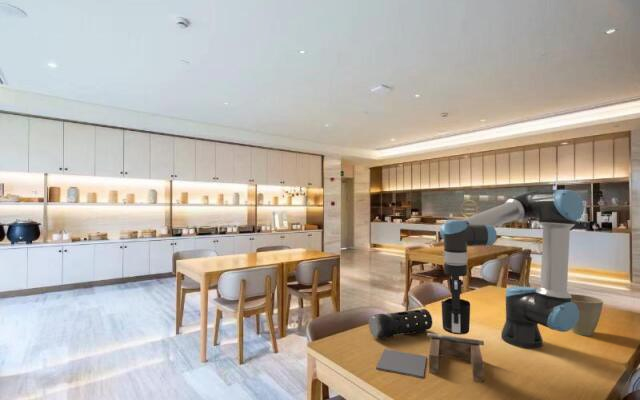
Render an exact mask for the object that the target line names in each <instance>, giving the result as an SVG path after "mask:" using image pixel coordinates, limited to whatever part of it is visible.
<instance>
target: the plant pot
mask: <svg viewBox="0 0 640 400" xmlns="http://www.w3.org/2000/svg"><path fill="white" fill-rule="evenodd" d="M569 294H570V295H571V296H572V302H571V303H573V304H575V305H576V306H577V308H578V310H579V319H578V321H577V323H576V325H575V326H574V327H573V328H572V329H571V331H572V332H573V333H575V334H577V335H581V336H587V337H589V336H593V334H594V333H595V331H596V329H597V326H598V324H599V321H600V317H601V315H602V310H603V309H602V308H603V305H604V304H603V303H604V300H603V299H600V298H597V297H594V296H590V295H586V294H585V295H583V294H575V293H569Z"/></svg>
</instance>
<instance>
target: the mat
mask: <svg viewBox="0 0 640 400" xmlns="http://www.w3.org/2000/svg"><path fill="white" fill-rule="evenodd" d="M426 363H427V355H421V354H416V353H411V352H404V351H398V350H392V349H387V348H384V349H383V351H382V354H381V356H380V358H379V360H378V363H377V365H376V367H375V369H376V370H380V371H383V372H384V371H385V372H389V373H395V374H396V373H397V374H401V375H405V376H411V377H415V378H421V379H424V377H425V370H426Z"/></svg>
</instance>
